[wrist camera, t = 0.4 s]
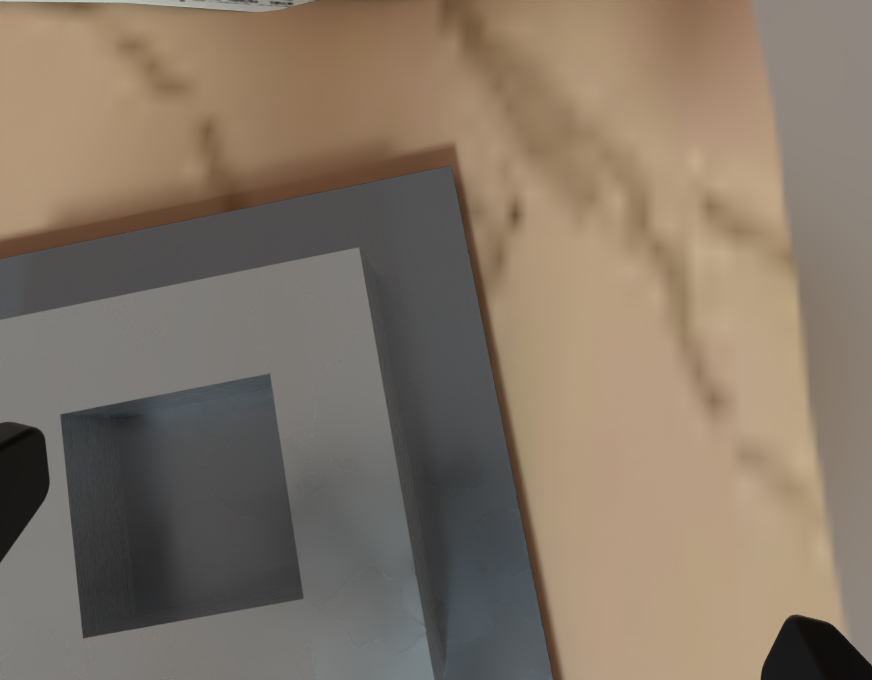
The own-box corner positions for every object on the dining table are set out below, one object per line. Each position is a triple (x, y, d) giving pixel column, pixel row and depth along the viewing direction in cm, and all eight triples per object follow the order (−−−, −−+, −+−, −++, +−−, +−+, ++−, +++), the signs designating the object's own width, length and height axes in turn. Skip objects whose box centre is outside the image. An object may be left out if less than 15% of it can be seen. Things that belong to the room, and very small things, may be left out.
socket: (565, 743, 22) (581, 808, 18) (-11, 840, 23) (-118, 922, 19) (452, 176, 25) (445, 125, 21) (-56, 281, 26) (-156, 250, 22)
